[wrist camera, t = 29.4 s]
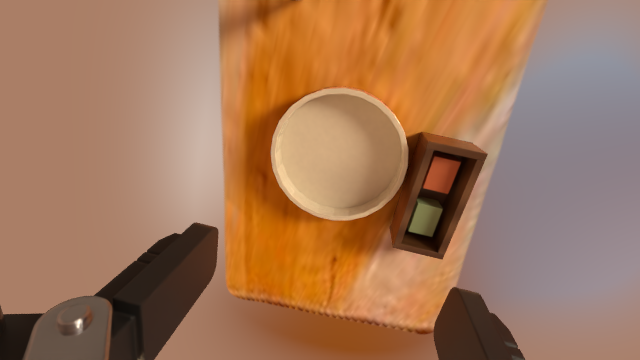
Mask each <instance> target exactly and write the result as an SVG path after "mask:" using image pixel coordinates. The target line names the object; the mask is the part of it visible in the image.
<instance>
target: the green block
mask: <svg viewBox="0 0 640 360" xmlns="http://www.w3.org/2000/svg"><path fill="white" fill-rule="evenodd" d="M442 210H443V208H442V206H441V205H440V203H439V201H438V200H433V199H429V198H424V197H420V196H418V197H417V200H416V202H415V205H414V208H413V211H412V214H411V217H410V219H409V222H408V225H407V228H408V231H409V232H413V233H418V234H422V235H426V236H430V237H432V236H433V233H434V231H435V228H436V226H437V223H438V221H439V218H440V215H441V213H442Z"/></svg>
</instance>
